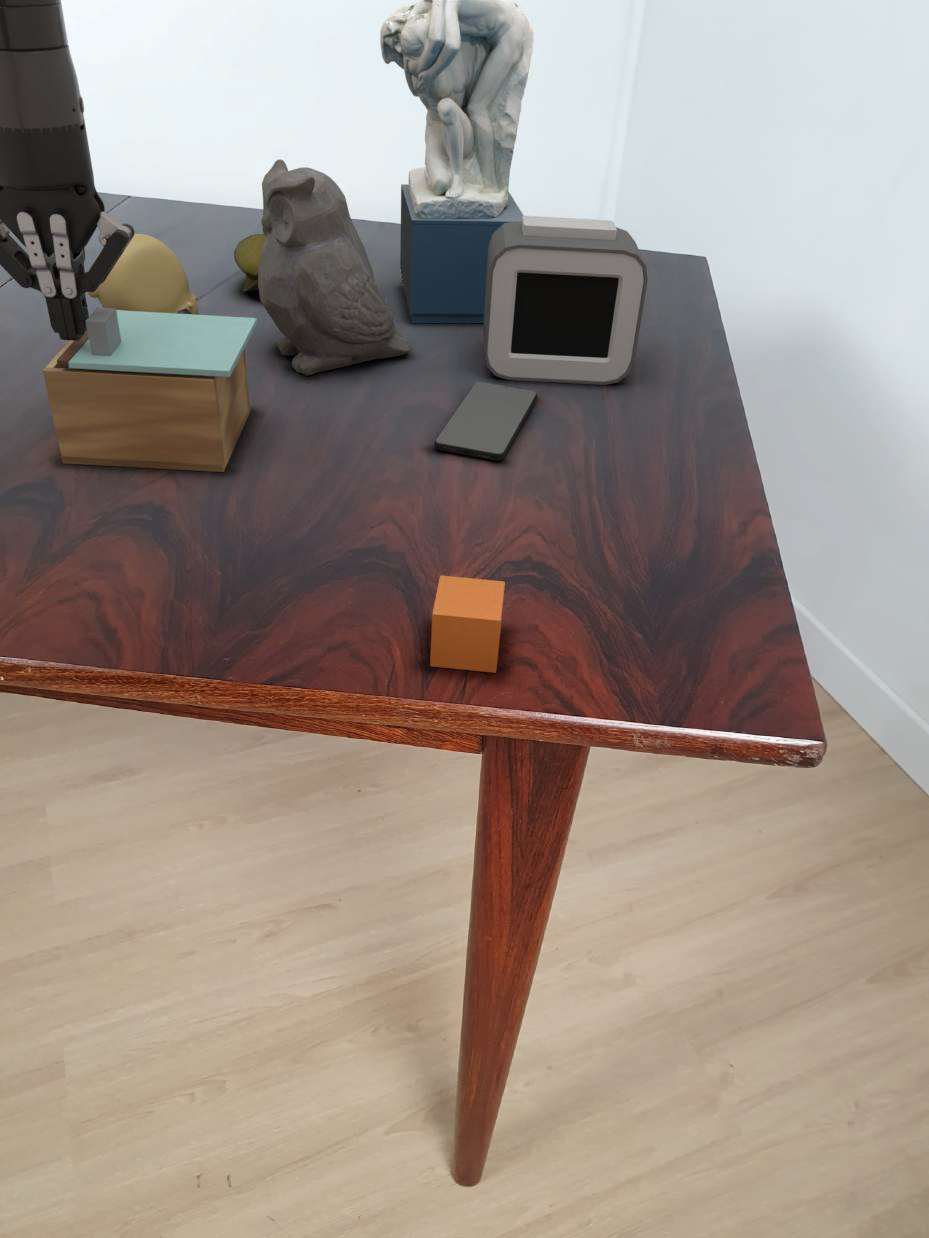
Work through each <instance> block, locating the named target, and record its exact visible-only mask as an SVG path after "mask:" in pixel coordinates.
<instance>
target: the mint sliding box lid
mask: <svg viewBox="0 0 929 1238" xmlns="http://www.w3.org/2000/svg"><path fill="white" fill-rule="evenodd" d="M257 325H258V319H257V317H246V316H245V317H243V316H226V315H209V314H208V315H207V314H198V315H193V314H176V313H158V312H141V311H123V310H116V309H115V308H103V307H96V308H95V310H93V312H92V313H91V314H89V318H88V319H87V320H86V326H87V331H86V332H85V334H84V336H83V337H82V338H81V339H80V340H79V341H73V342H72V344H71V345H70V346H69V347H68V348H67V349H66V350H65V351H64V352H63V354H62V355H61V356H60V357H59V358H58V359H57V364H58V368H75V369H93V370H111V371H129V372H146V373H164V374H182V375H200V376H218V377H230V376H231V374H232V372H233V370H234V368H235V366H236V364H237V362H238V360H239V358H240V356H241V354H242V352H243V350H244V349H245V348H246V347H247V345H248V343H249V341H250V339H251V337H252V335H253V333H254V331H255V329H256V328H257ZM245 350H246V349H245Z"/></svg>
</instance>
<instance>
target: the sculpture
mask: <svg viewBox="0 0 929 1238" xmlns="http://www.w3.org/2000/svg"><path fill="white" fill-rule="evenodd" d="M379 33H380V34H379V37H380V38H379V39H380V40H379V43H380V50H381V51H380V52H381V57H382V60H383V62H384V64H386V65H390V64H391V63H393V62H394V63H395V64H396V65H397V66H398V67H399V68H401V69H402V70H403V72H404V77H405V80H406V84H407V87H408V89H409V91H410V93H411V95H412V96H413V97H416V98H417V97H418V98H419V100H420V101H421V103H422V105H423V106H424V107H425V109H426V111H427V112H426V116H425V121H426V122H425V130H424V142H425V155H424V166H422V167H416V168H412V169H410V170H409V171H408V184H407V183H406V184H403V183H402V184H401V185H400V249H399V251H400V255H399V257H400V258H399V259H400V260H399V261H400V263H399V270H400V269H401V272H400V275H401V274H402V276H401V283H402V287H403V292H404V297H405V300H406V304H407V308H408V313H409V317H410V321H411V323H412V324H483V321H484V306H485V290H486V275H487V259H488V246H489V243H490V240H491V237H492V234H493V233H494V232H495V231H496V230H497V229H498V228H499V227H500V226H502V225H503V224H504V223H508V222H514V221H522V217H523V216H525V215H524V214H523V211H521V209H520V207H519V205H518V204H517V202H516V201H515V199H514V197H513V196H512V194H511V193H510V191H509V190H510V189H509V186H510V175H511V168H512V161H513V156H514V152H515V151H514V150H515V145H516V142H517V141H516V140H517V136H518V129H519V124H520V116H521V112H522V102H523V101H522V100H523V98H524V96H525V89H526V87H527V84H528V83H527V82H528V79H529V72H530V67H531V61H532V54H533V49H534V29H533V26H532V25H531V22H530V21H529V19H528V17H527V16H526V14H525V13H524V11H523V10H522V8H521V6H520V5H519V4H518V3H517V2H516V1H514V0H417V2H416V3H414V4H406V5H403V6H401V7H400V8H398V9H396V10H395V11H393V12H392V13H390V15H389V16H388V17H387V18H386V20H384V21H383V23H382V25H381V28H380V32H379ZM402 279H403V280H402ZM403 284H404V285H403Z"/></svg>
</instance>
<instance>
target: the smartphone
mask: <svg viewBox="0 0 929 1238" xmlns="http://www.w3.org/2000/svg"><path fill="white" fill-rule="evenodd" d="M537 399H538V392H536V391H535V390H531V389H526V388H519V387H514V386H508V385H502V384H498V383H497V384H496V383H490V382H484V381H476V382H475V383H474V384H473V385H472V387H471V388H470V389H469V391H468V392H467V394H466V395H465V397H464V398H463V400H462V401H461V403H460V404H459V405H458V407H457V408H456V409H455V411H454V413H453V414H452V415H451V417H450V418H449V419H448V421H447V423H446V424H445V426H444V427H443V428H442V429H441V431H440V433H439V434H438V436H437V437H436V438H435V440H434V442H433V446H434V448H435V449H436V450H440V451H445V452H451V453H455V454H461V455H466V456H471V457H477V458H483V459H487V460H492V461H493V460H494V461H501V460H503V459H504V458H505V455H506V454H507V453H508V450H509V448H510V446H511V445H512V443H513V441H514V440H515V437H517V434H518V432H519V431H520V429H521V427H522V425H523V424H524V422H525V420H526V418H527V417H528V415H529V413H530V412H531V409H532V408H533V406H534V404H535V402H536V400H537Z"/></svg>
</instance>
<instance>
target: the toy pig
mask: <svg viewBox="0 0 929 1238" xmlns="http://www.w3.org/2000/svg"><path fill="white" fill-rule="evenodd" d="M101 251H102V249H101V250H100V252H101ZM100 252H98V254H97V256H96V258H95V260H96V259H97V257H98V256H99V254H100ZM188 279H189V278H188V276H187V274H186V271H185V269H184V267H183V265H182V263H181V262H180V261H179V259H178V257H177V255H175V253H174V252H173V251H172V250H171V249H170V248H169V247H168V245H166V244H164V243H163V242H162V241H160V240H159V239H157V238H156V237H153V236H151V235H148V234H144V233H134V236H133V238H132V239H131V241H130V243H129V244H128V246H127V247H126V249H125V250H124V252H123V253H122V255H121V256H120V258H119V260H118V261H117V263H116V264H115V266H114V267H113V269H112V270H111V272H110V273H109V275H108V277H107V278H106V280H105V281H104V282H103V283H102V284H100V285H99V287H98V288H97V290H96V291H94V292H87V295H88V296H89V297H91V298H93V299H97V300H98V302H99V303H100V305H101V308H115V309H116V310H123V311H141V312H158V313H176V314H193V315H199V305H198V302H197V301H198V296H197V295H195V294H193V293H192V292H191V289H190V285H189V280H188Z"/></svg>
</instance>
